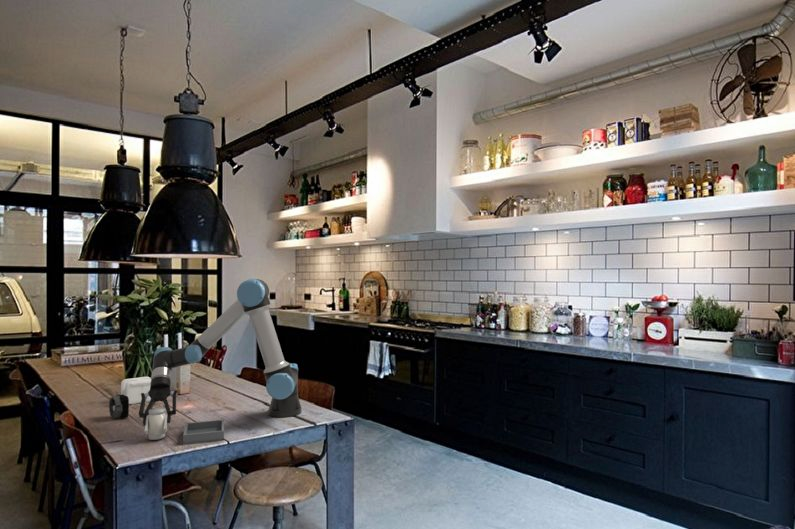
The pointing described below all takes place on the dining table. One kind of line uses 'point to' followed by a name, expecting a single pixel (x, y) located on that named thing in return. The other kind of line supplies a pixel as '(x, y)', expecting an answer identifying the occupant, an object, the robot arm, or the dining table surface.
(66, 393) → the dining table surface
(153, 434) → the grey lidded jar
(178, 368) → the cracker box
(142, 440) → the dining table surface
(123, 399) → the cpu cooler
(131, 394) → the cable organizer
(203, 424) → the parts tray
